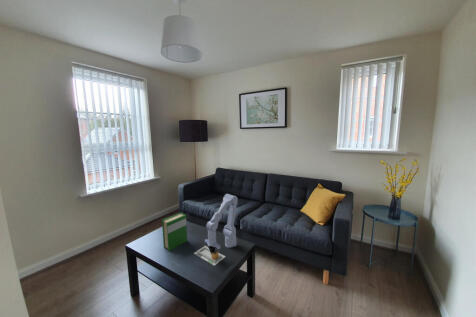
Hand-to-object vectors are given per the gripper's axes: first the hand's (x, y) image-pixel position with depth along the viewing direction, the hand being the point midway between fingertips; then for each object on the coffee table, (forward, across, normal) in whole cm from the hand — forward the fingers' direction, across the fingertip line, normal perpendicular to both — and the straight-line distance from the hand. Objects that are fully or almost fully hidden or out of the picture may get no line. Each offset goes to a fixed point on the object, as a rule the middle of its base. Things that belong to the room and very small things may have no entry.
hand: (212, 253), depth 142 cm
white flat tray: (+4, -3, 0) cm, 5 cm away
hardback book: (+4, -37, -6) cm, 38 cm away
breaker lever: (+2, +3, 0) cm, 4 cm away
